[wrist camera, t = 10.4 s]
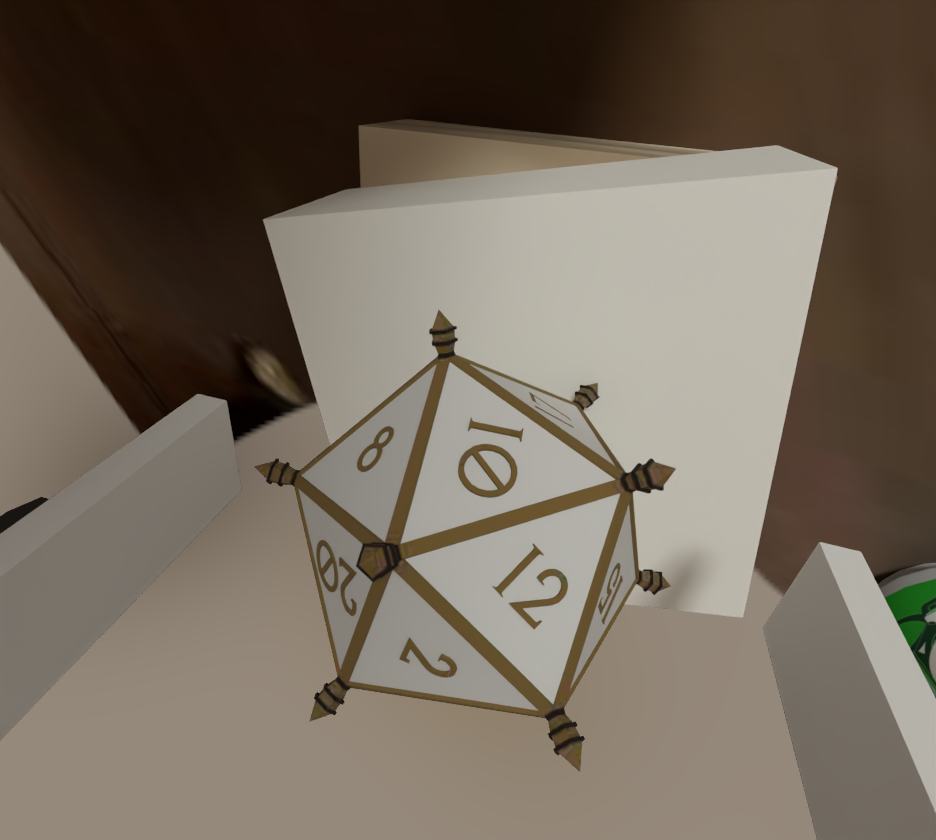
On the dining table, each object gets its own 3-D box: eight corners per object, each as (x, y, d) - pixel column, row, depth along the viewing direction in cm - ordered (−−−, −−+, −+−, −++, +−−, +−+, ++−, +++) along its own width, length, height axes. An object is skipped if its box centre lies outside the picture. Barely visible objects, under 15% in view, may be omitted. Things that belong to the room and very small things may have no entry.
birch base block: (411, 118, 21) (358, 125, 17) (790, 157, 19) (838, 177, 14) (407, 416, 28) (370, 472, 24) (676, 471, 26) (685, 542, 22)
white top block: (346, 189, 18) (262, 219, 14) (777, 145, 14) (838, 168, 10) (411, 492, 24) (368, 574, 20) (719, 513, 21) (742, 617, 17)
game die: (503, 415, 19) (299, 639, 16) (427, 204, 13) (66, 505, 10) (753, 545, 14) (525, 913, 11) (828, 302, 8) (344, 1002, 5)
